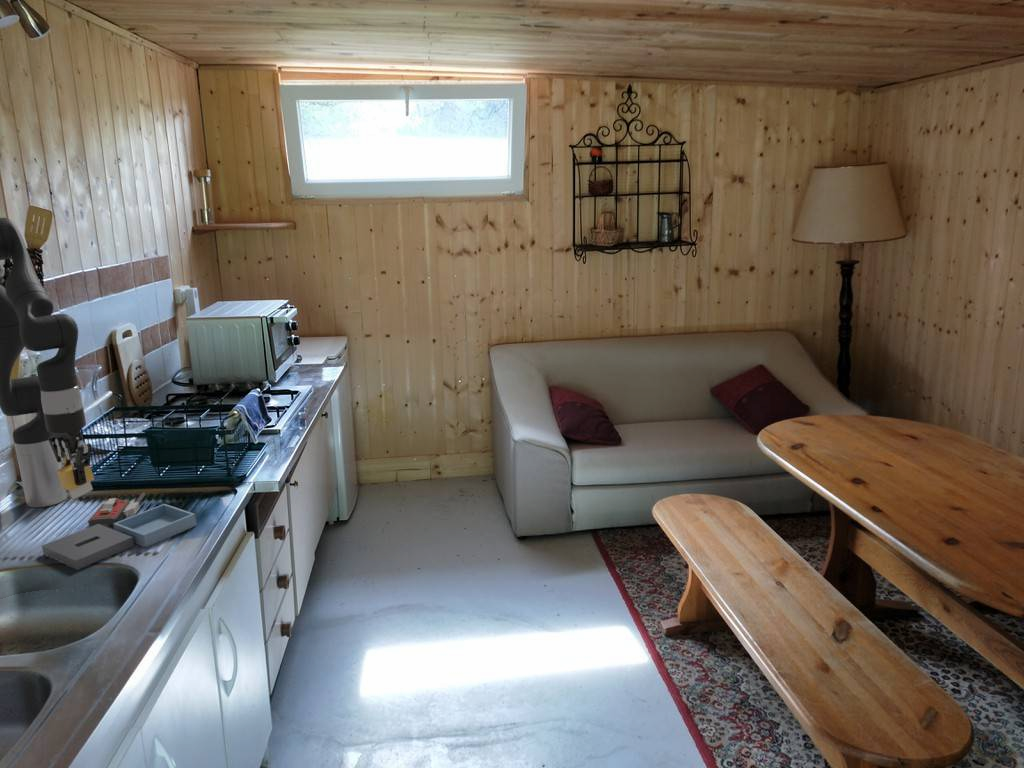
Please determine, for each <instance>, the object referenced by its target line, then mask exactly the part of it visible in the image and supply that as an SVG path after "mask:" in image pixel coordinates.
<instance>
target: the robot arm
mask: <svg viewBox="0 0 1024 768" xmlns="http://www.w3.org/2000/svg"><path fill="white" fill-rule="evenodd" d="M9 259H12V260H13V261H12V265H11V268H10V270H9V272H8V275H7V277H6V281H5V283H4V285H5V286H3V285H1V284H0V410H1V413H2V414H3V415H5V416H6V417H17V416H22V415H29V414H36V416H35V417H34V418H32V419H30V421H28V422H27V423H25V424H22V425H21V426H18V427H17V428H15V429H14V430H13V432H12V438H13V439H12V440H13V445H14V449H15V454H16V458H17V462H18V463H17V464H18V467H19V472H20V479H21V482H22V488H23V493H24V494H23V495H24V497H25V502H26V506H27V507H29V508H45V507H50V506H54V505H57V504H59V503H62V502H64V501H65V500H66V499H67V498H68V495H67V490H65V489H63V487H62V484H61V482H60V479H59V476H58V473H57V470H59V469H61V468H63V467H65V466H67V465H70V464H71V466H72V469H73V474H74V480H75V484H76V485H78V486H79V485H82V484H85V483H86V476H85V470H84V467H86V466H89V465H90V466H91V457H92V456H91V455H92V448H93V446H92V443H91V442H89V443H86V442H85V441H84V437H83V434H82V432H81V430H82V429H83V428H85V427H86V426H87V420H86V416H85V410H84V409H85V408H84V403H83V397H82V394H81V391H80V388H79V384H78V383H79V382H78V379H77V378H78V377H77V371H76V355H77V354H76V353H77V345H78V344H77V343H78V339H79V327H78V324H77V323H76V320H75V319H74V318H73V317H72V316H71V315H69V314H66V313H59V314H53V312H54V304H53V301H52V300H51V298H50V296H49V295H48V292H47V291H46V289H45V288H44V286H43V285H42V282H41V281H40V280H39V277H38V274H37V273H36V269H35V267H34V265H33V262H32V259H31V256H30V253H29V251H28V249H27V246H26V244H25V240H24V238H23V236H22V234H21V232H20V230H19V228H18V226H17V225H16V223H15V222H14V221H13V220H12V219H10V218H8V217H0V261H3V260H9ZM24 348H26V349H28V350H29V351H32V352H44V351H49V350H55V349H58V350H57V352H56V354H55V355H54V356H53V357H50V358H49V359H46V360H44V361H41V362H39V363H38V365H37V366H36V372H37V375H35V376H34V375H33V376H25V377H18V378H11V375H12V370H13V367H14V366H15V363H16V361H17V360H18V358H19V356H20V355H21V353H22V351H23V350H24Z"/></svg>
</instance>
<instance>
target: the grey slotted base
mask: <svg viewBox="0 0 1024 768" xmlns="http://www.w3.org/2000/svg"><path fill="white" fill-rule="evenodd" d="M133 547H135V543H134V542H133V537H131V536H129V535H126V534H124V533H121V532H118V531H116V530H114V528H113V529H111V528H108V527H106V526H103V525H100V524H97V525H94V526H91V527H89V526H88V527H86V528H84V529H81V530H79V531H76V532H73V533H71V534H69V535H66V536H63V537H61V538H58V539H55V540H53V541H51V542H48V543H46V544H43V545H41V549H42V553H43V555H44V554H46V555H48V556H50V557H52V558H55V559H57V560H59V561H62V562H64V563H65V564H66V565H65V564H64V565H65V566H67V567H69V568H72V569H74V570H76V571H79V570H81V569H84V568H85V567H88V566H90V565H93V564H94V562H95V563H97V562H96V561H98V560H100V561H102V560H105V559H107V558H109V557H111V556H115V554H116V555H117V554H119V553H121V552H123V551H126V550H128V549H130V548H133ZM46 555H45V556H46ZM48 556H47V557H48ZM50 557H49V558H50ZM52 558H51V559H52ZM101 559H102V560H101ZM59 561H58V562H59ZM98 562H99V561H98ZM92 563H93V564H92Z"/></svg>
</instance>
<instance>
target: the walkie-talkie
mask: <svg viewBox="0 0 1024 768" xmlns="http://www.w3.org/2000/svg"><path fill="white" fill-rule="evenodd" d="M144 497H146V493H145V492H141V494H140V495H139V496H138V497H137V499H136V500H135V501H133V502H130V500H128V499H125V500H123V499H122V500H120V499H119V497H113V498H108V499H107V500H106V501H105V502H104V503H102V504H101V505H100V506H99V507H98V508H97V509H96V511H95V512H94V514H92V515H91V517H90V518H89V519H88V521H87V523H88V528H89V527H91V526H94V525H97V524H100V525H103V526H106V527H108V528H111V529H113V530H114V525H113V524H114V523H116V522H119V521H121V520H124V519H126V518H129V517H132V516H134V515H137V514H138V512H139V510H140V508H141V506H140V503H141V502H142V500H144Z"/></svg>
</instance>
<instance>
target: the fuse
mask: <svg viewBox="0 0 1024 768" xmlns="http://www.w3.org/2000/svg"><path fill="white" fill-rule="evenodd" d="M84 470H85V476H86V483H85V484H82V485H79V486H78V485H76V484H75V480H74V474H73V469H72V466H71V464H70V465H67V466H65V467H63V466H62V468H61V469H59V470H57V473H58V476H59V479H60V482H61V484H62V487H63V489H65V490H66V491H69V494H70V497H71V499H73V500H75V499H78V498H80V497H81V496H83V495H86V494H87V493H89V492H91V491H93V490H94V488H93V486H92V485H93V484H92V483H91V482H92V481H94V480H96V479H95V477H94V474H93V471H92V468H91V464H90V465H89V466H86V467H84Z"/></svg>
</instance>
